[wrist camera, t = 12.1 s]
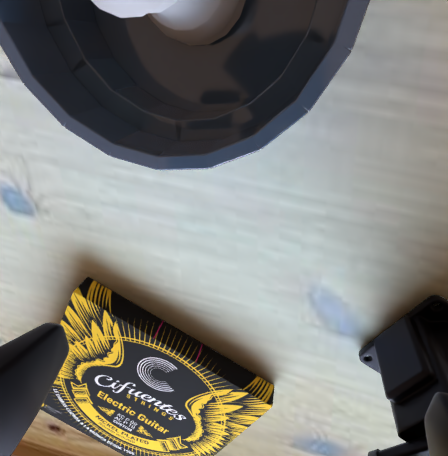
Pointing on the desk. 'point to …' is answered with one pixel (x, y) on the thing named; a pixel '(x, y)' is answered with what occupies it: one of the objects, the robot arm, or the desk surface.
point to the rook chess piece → (181, 16)
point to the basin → (178, 75)
